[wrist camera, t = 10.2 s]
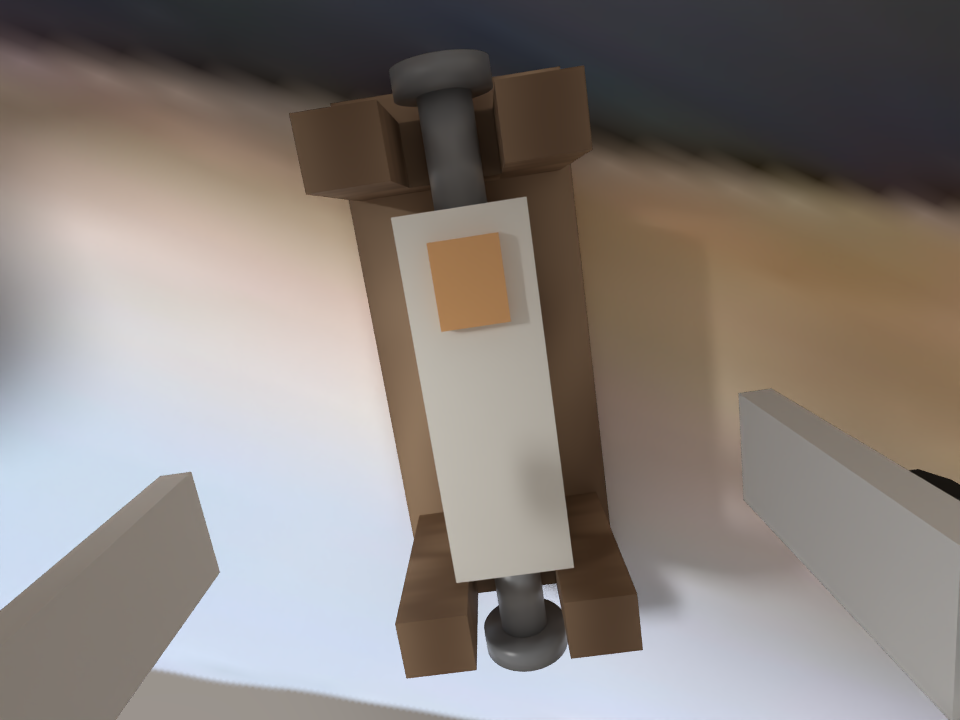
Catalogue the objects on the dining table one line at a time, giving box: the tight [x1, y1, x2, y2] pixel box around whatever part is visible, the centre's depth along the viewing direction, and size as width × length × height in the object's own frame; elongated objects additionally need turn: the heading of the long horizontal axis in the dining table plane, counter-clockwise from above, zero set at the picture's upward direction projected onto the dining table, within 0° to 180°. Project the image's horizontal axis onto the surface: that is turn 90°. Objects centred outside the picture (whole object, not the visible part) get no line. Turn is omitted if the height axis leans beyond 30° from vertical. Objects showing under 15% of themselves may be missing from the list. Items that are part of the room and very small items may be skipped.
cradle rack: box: [289, 66, 643, 678], centre depth 25 cm, size 10×24×9 cm, turn 8°
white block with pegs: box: [389, 49, 574, 672], centre depth 24 cm, size 5×24×6 cm, turn 8°
